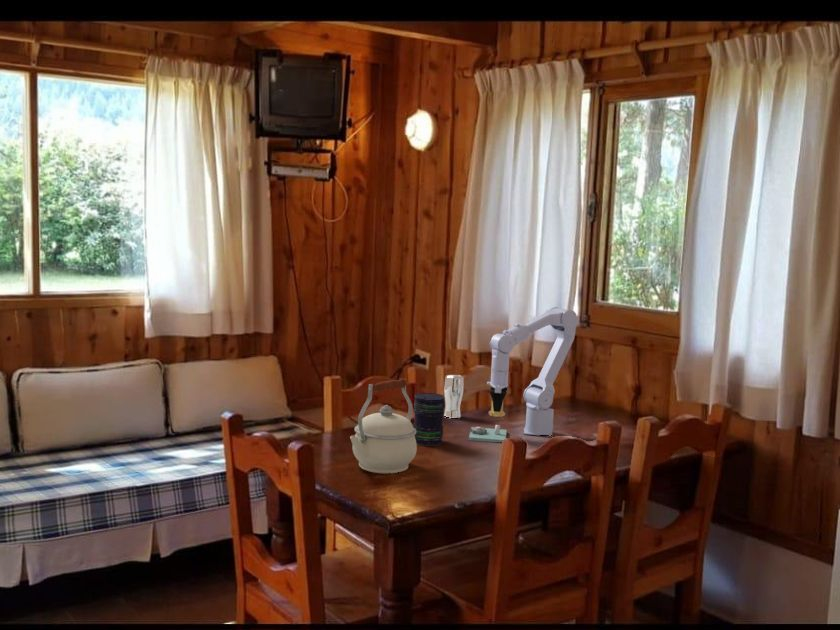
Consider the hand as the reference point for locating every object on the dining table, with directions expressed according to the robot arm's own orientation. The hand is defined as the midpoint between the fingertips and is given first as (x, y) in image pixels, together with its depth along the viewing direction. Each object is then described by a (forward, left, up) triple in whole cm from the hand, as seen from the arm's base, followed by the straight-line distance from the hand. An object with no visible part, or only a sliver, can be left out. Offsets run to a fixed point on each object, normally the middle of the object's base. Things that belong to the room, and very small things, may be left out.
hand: (497, 410), depth 276 cm
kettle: (+31, +46, -9) cm, 57 cm away
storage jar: (+21, +14, -9) cm, 27 cm away
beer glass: (+16, -23, -9) cm, 30 cm away
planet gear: (0, 0, -2) cm, 2 cm away
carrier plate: (+2, +1, -9) cm, 9 cm away
